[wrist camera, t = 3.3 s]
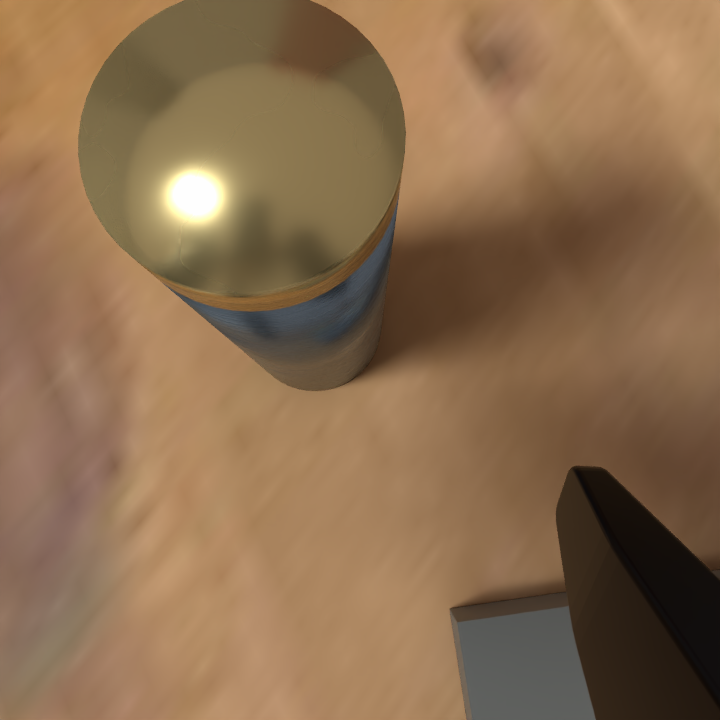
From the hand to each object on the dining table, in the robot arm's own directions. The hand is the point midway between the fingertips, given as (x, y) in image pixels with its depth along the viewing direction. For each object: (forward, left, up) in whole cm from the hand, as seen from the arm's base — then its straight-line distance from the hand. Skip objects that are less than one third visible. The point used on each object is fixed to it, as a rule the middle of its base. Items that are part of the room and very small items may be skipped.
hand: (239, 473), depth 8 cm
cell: (+1, +4, -11) cm, 12 cm away
